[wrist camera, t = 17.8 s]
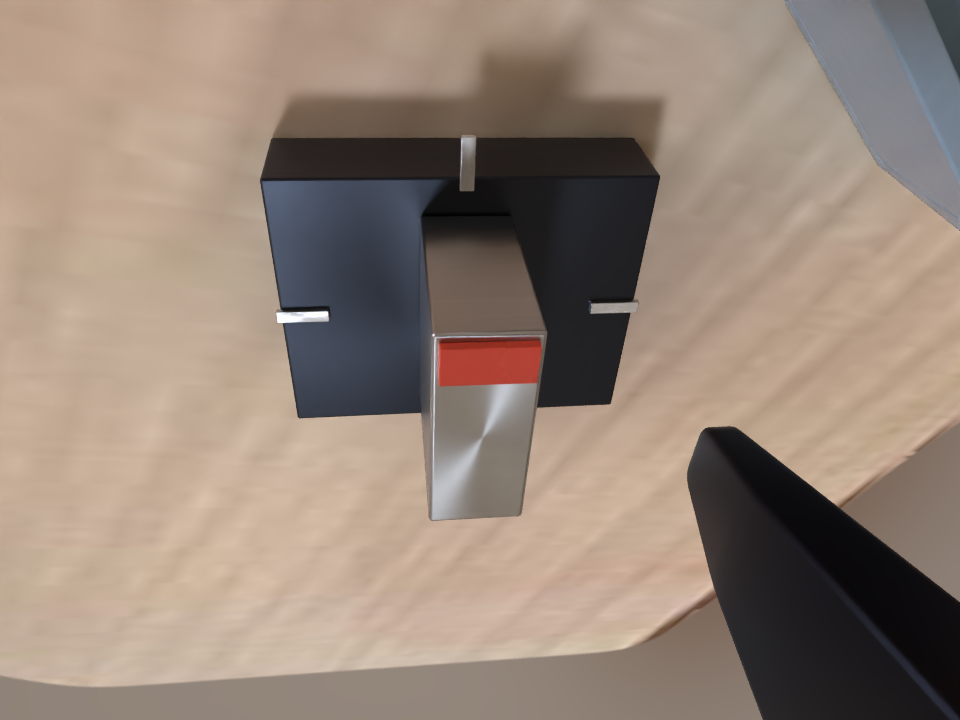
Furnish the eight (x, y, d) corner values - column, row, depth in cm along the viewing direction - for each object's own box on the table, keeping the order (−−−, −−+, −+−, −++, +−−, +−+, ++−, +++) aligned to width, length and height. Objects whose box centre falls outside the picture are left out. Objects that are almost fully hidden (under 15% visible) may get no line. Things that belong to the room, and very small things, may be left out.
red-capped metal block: (497, 388, 22) (523, 525, 18) (419, 391, 22) (429, 530, 18) (512, 214, 19) (551, 338, 15) (419, 215, 18) (432, 342, 14)
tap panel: (304, 391, 25) (298, 447, 23) (260, 95, 18) (246, 137, 16) (591, 380, 26) (610, 432, 24) (645, 97, 20) (676, 136, 18)
